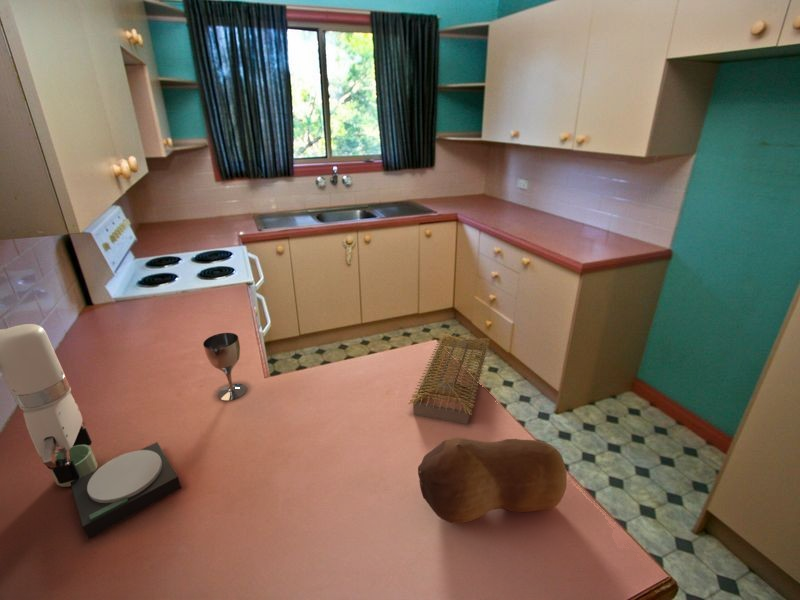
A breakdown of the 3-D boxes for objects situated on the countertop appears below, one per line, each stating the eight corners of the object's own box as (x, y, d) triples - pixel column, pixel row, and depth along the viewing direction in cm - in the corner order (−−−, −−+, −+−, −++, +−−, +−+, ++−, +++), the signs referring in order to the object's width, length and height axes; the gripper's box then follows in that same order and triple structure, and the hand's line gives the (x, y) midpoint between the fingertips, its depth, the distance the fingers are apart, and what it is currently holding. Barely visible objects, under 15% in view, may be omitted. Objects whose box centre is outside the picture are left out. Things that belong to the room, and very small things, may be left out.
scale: (88, 539, 71) (81, 523, 70) (75, 493, 80) (68, 478, 79) (181, 488, 81) (177, 473, 79) (161, 452, 89) (156, 438, 88)
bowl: (52, 493, 80) (43, 475, 79) (62, 468, 86) (54, 450, 84) (94, 481, 83) (86, 463, 81) (101, 457, 89) (94, 440, 87)
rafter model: (471, 427, 94) (472, 404, 91) (408, 415, 98) (408, 393, 96) (489, 349, 124) (491, 330, 122) (441, 342, 128) (441, 324, 126)
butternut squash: (424, 543, 66) (581, 530, 68) (421, 459, 65) (580, 448, 67) (416, 496, 80) (545, 487, 81) (413, 426, 79) (544, 418, 80)
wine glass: (210, 392, 109) (197, 340, 103) (240, 379, 114) (229, 329, 108) (223, 405, 103) (211, 352, 97) (254, 391, 108) (244, 340, 102)
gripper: (34, 371, 83) (66, 440, 90) (-3, 426, 68) (39, 503, 75) (79, 362, 85) (107, 429, 92) (53, 413, 70) (89, 488, 77)
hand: (77, 462), depth 84 cm, fingers open, 9 cm apart
